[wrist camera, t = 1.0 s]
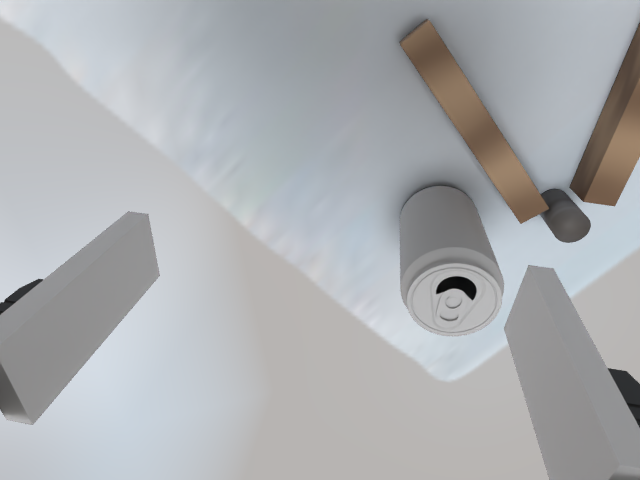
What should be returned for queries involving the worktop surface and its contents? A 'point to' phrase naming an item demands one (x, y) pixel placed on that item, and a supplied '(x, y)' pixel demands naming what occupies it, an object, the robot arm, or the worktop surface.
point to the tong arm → (472, 120)
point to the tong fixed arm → (603, 154)
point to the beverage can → (447, 263)
